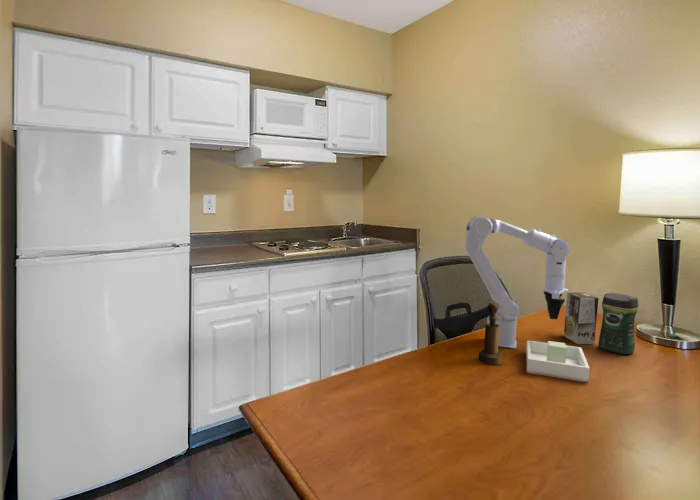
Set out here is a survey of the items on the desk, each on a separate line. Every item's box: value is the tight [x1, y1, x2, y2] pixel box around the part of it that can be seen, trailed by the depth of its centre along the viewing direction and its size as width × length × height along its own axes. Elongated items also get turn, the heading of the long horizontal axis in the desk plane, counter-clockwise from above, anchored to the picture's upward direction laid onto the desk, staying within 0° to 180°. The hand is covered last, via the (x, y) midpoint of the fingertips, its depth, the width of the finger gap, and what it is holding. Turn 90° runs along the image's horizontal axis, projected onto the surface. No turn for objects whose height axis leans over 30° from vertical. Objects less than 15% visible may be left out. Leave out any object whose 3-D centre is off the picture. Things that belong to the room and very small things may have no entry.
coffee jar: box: [598, 292, 639, 355], centre depth 133 cm, size 10×8×19 cm
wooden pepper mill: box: [478, 301, 503, 366], centre depth 122 cm, size 7×6×18 cm
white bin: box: [525, 339, 591, 383], centre depth 120 cm, size 15×17×4 cm
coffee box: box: [563, 291, 600, 345], centre depth 143 cm, size 9×6×16 cm
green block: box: [546, 340, 567, 363], centre depth 119 cm, size 4×4×6 cm
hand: (552, 315), depth 135 cm, fingers open, 7 cm apart
